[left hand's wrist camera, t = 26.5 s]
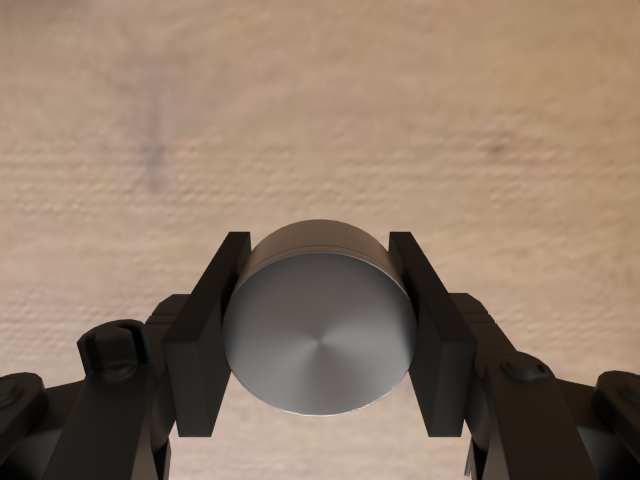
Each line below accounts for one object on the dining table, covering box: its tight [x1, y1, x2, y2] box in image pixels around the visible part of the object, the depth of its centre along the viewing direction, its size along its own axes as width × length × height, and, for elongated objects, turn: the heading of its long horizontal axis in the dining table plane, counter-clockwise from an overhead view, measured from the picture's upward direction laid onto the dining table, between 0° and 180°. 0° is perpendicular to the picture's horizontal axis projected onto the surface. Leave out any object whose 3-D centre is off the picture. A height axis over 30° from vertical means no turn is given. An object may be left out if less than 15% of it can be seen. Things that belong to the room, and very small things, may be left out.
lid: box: [221, 220, 418, 416], centre depth 11 cm, size 5×5×2 cm
